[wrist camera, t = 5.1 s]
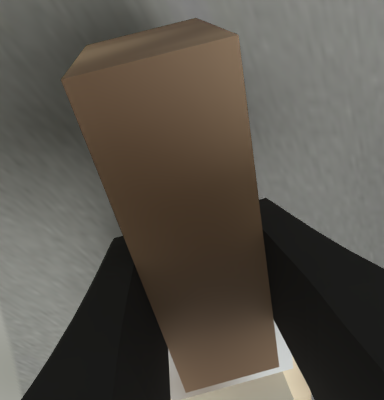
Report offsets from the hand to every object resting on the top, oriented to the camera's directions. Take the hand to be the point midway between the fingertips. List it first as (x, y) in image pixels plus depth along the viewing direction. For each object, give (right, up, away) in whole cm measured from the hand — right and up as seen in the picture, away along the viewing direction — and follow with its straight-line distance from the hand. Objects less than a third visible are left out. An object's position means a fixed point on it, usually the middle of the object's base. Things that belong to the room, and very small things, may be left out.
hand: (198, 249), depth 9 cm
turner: (0, 0, +3) cm, 3 cm away
